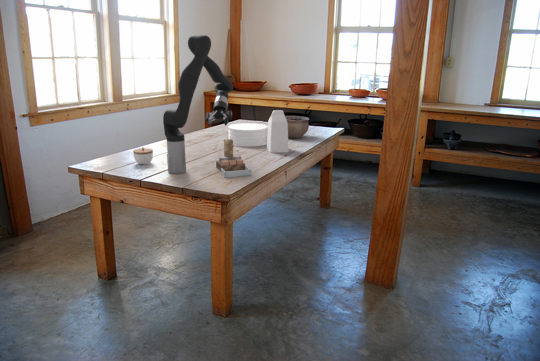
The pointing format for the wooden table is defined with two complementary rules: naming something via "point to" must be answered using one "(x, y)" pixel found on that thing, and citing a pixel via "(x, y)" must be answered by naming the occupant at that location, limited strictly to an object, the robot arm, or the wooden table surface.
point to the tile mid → (232, 162)
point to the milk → (277, 132)
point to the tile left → (224, 162)
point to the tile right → (239, 161)
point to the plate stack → (248, 134)
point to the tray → (236, 172)
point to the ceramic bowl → (297, 126)
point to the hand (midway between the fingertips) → (217, 125)
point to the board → (230, 167)
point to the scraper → (228, 151)
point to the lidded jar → (143, 155)
